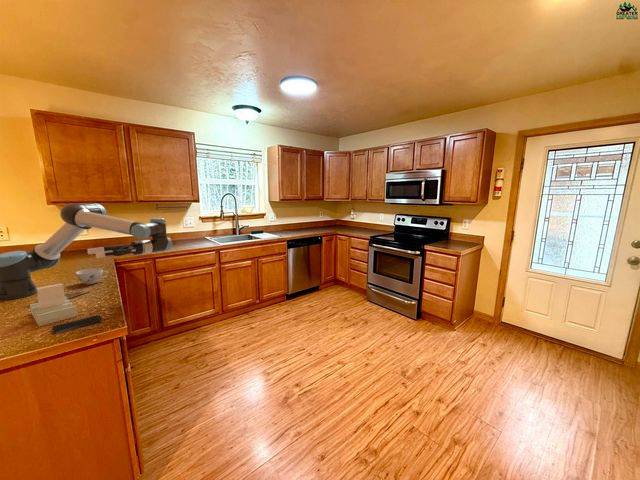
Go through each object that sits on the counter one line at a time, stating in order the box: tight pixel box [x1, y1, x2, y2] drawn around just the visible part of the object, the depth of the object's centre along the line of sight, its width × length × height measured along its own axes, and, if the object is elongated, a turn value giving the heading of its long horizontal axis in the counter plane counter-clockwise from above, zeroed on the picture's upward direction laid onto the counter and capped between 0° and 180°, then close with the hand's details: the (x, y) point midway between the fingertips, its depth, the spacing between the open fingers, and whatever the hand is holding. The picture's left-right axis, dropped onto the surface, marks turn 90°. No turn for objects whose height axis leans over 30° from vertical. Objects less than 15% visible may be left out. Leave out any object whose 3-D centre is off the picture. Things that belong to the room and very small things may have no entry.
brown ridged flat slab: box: [21, 290, 91, 309], centre depth 136 cm, size 26×11×1 cm, turn 147°
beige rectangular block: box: [36, 282, 66, 310], centre depth 117 cm, size 4×8×12 cm, turn 144°
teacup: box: [75, 267, 109, 285], centre depth 162 cm, size 15×12×8 cm
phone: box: [51, 314, 103, 335], centre depth 109 cm, size 8×1×15 cm
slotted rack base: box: [29, 297, 78, 327], centre depth 118 cm, size 20×12×4 cm, turn 54°
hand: (91, 253), depth 127 cm, fingers open, 13 cm apart
